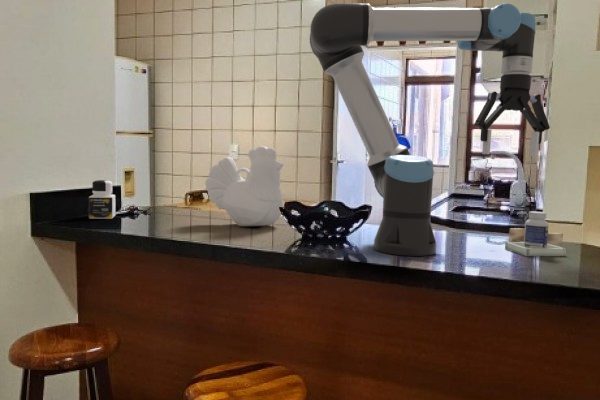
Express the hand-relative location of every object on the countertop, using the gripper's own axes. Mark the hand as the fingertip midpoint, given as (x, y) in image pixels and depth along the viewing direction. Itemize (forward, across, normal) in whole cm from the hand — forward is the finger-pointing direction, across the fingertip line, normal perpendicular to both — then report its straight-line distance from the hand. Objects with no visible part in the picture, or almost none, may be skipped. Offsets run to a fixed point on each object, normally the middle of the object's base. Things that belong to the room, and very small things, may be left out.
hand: (509, 155), depth 141 cm
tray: (+24, +3, -10) cm, 27 cm away
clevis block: (+24, +10, 0) cm, 26 cm away
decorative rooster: (+25, -69, +31) cm, 80 cm away
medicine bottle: (+26, -115, +44) cm, 125 cm away
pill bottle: (+24, +3, -10) cm, 26 cm away
